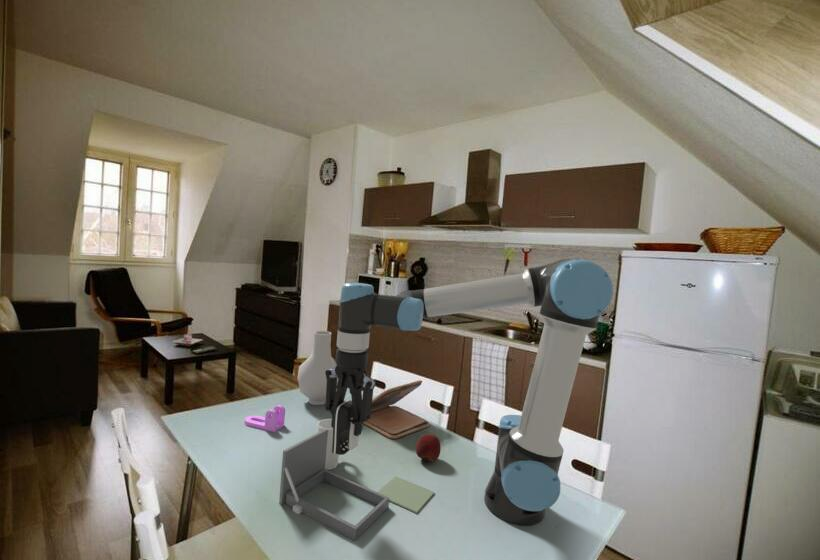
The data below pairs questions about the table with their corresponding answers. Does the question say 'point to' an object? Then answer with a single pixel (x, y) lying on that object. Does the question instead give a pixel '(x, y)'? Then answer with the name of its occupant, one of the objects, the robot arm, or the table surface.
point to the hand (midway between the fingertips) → (344, 444)
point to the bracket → (268, 419)
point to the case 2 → (394, 413)
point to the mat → (406, 494)
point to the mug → (328, 444)
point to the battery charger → (342, 427)
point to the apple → (428, 447)
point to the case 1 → (308, 470)
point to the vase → (316, 369)
